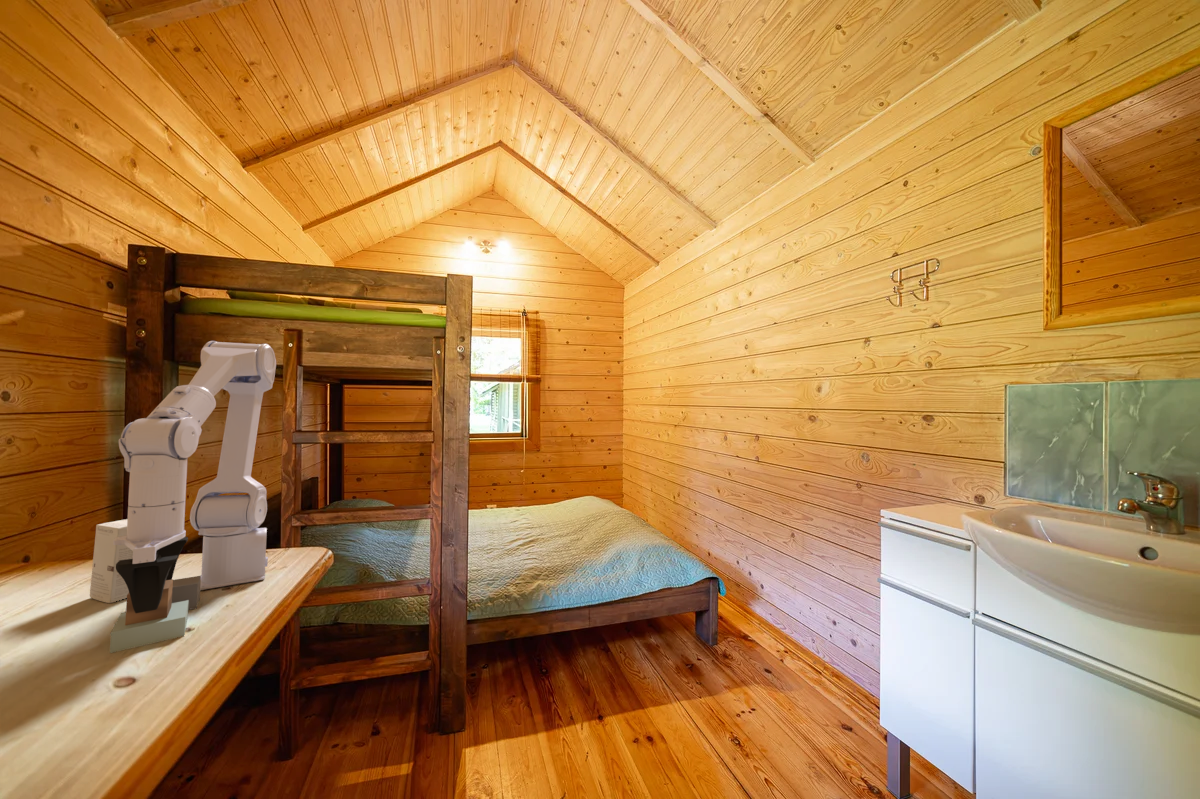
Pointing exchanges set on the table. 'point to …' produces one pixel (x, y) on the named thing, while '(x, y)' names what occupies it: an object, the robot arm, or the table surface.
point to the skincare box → (109, 563)
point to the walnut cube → (154, 614)
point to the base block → (149, 629)
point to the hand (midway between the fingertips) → (152, 600)
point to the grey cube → (187, 591)
